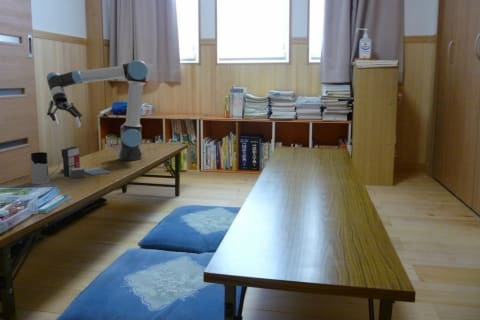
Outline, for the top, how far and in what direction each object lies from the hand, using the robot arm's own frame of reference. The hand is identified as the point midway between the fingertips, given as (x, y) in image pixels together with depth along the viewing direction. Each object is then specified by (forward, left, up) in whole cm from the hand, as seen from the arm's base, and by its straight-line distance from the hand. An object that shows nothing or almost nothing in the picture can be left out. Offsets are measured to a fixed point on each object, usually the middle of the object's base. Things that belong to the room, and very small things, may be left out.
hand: (68, 126), depth 252 cm
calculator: (+4, +12, -26) cm, 29 cm away
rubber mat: (-10, +12, -26) cm, 30 cm away
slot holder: (+4, +12, -26) cm, 29 cm away
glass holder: (+20, +21, -26) cm, 39 cm away
